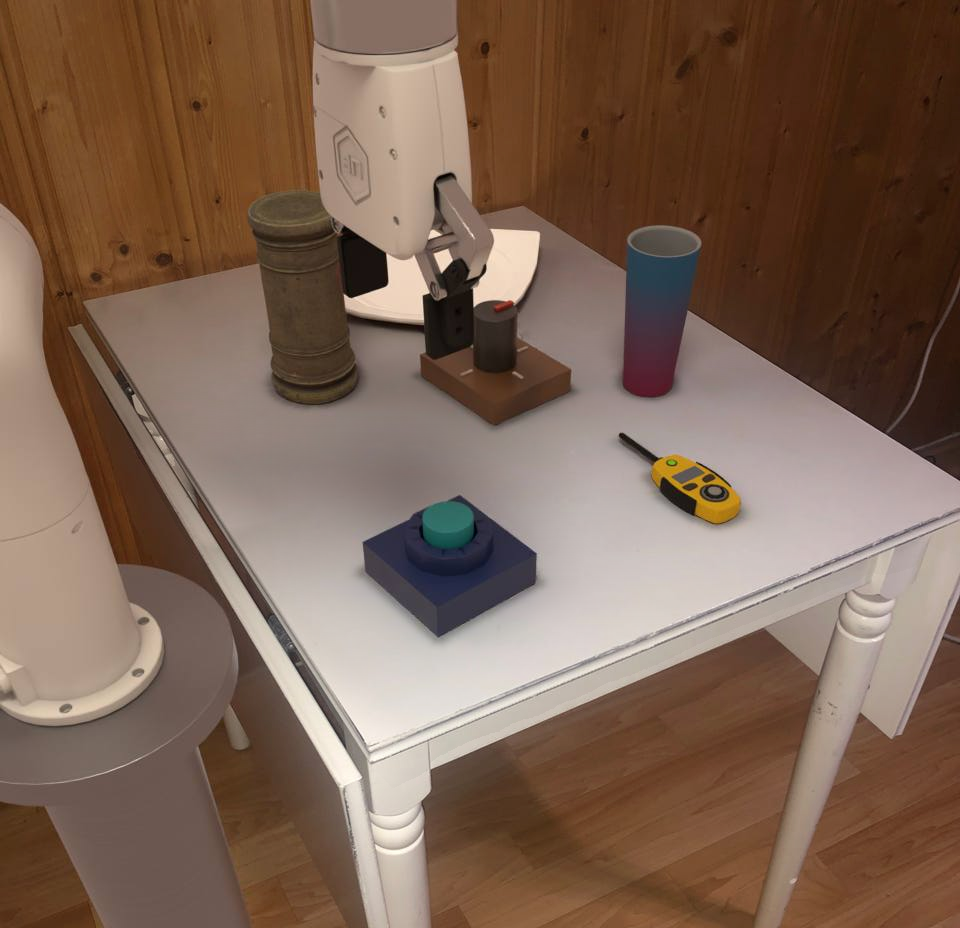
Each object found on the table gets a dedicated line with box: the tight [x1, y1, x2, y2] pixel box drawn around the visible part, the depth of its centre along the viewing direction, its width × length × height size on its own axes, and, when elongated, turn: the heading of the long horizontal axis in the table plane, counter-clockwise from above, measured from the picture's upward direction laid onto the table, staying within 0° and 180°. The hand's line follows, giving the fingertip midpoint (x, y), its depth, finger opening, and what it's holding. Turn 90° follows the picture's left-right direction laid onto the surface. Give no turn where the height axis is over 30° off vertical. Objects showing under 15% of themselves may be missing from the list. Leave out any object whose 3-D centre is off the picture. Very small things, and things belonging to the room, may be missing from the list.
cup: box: [622, 224, 702, 398], centre depth 102 cm, size 7×7×15 cm
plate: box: [344, 228, 541, 326], centre depth 123 cm, size 24×24×3 cm
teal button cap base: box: [362, 494, 538, 638], centre depth 85 cm, size 10×10×5 cm
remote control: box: [618, 432, 742, 524], centre depth 95 cm, size 5×2×15 cm
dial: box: [473, 300, 519, 372], centre depth 104 cm, size 4×4×6 cm
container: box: [246, 189, 359, 405], centre depth 102 cm, size 9×9×18 cm
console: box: [419, 336, 572, 426], centre depth 107 cm, size 10×12×3 cm
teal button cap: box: [422, 500, 474, 549], centre depth 83 cm, size 4×4×2 cm
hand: (406, 320), depth 66 cm, fingers open, 9 cm apart
